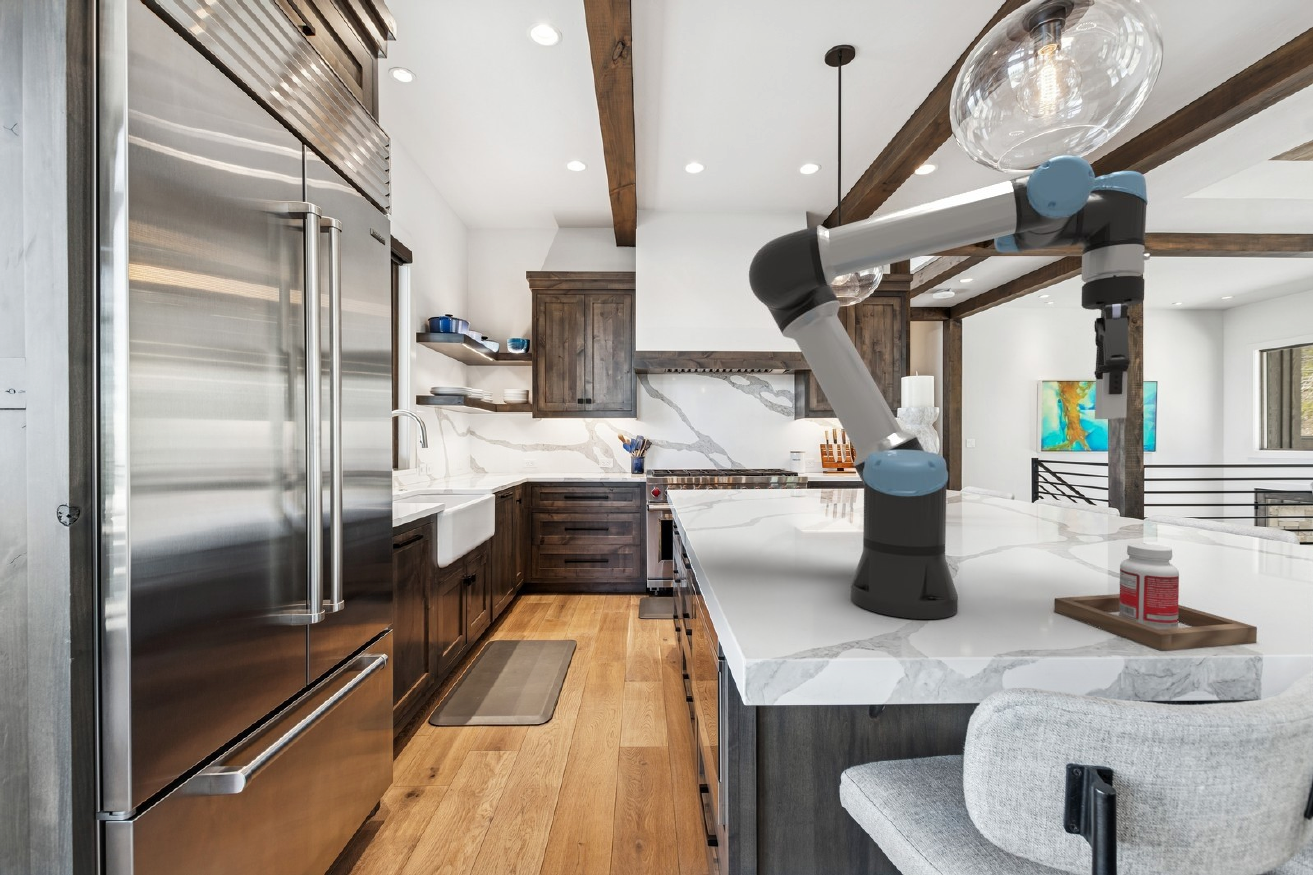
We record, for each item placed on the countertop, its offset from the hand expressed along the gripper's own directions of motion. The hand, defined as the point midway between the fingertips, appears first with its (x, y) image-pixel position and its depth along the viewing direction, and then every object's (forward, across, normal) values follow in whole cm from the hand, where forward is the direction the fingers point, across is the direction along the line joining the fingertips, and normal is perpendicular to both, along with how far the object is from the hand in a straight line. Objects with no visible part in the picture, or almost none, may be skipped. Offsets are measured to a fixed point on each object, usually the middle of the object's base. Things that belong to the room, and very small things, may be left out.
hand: (1109, 418), depth 88 cm
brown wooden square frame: (+29, -9, -4) cm, 30 cm away
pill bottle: (+29, -9, -4) cm, 31 cm away
